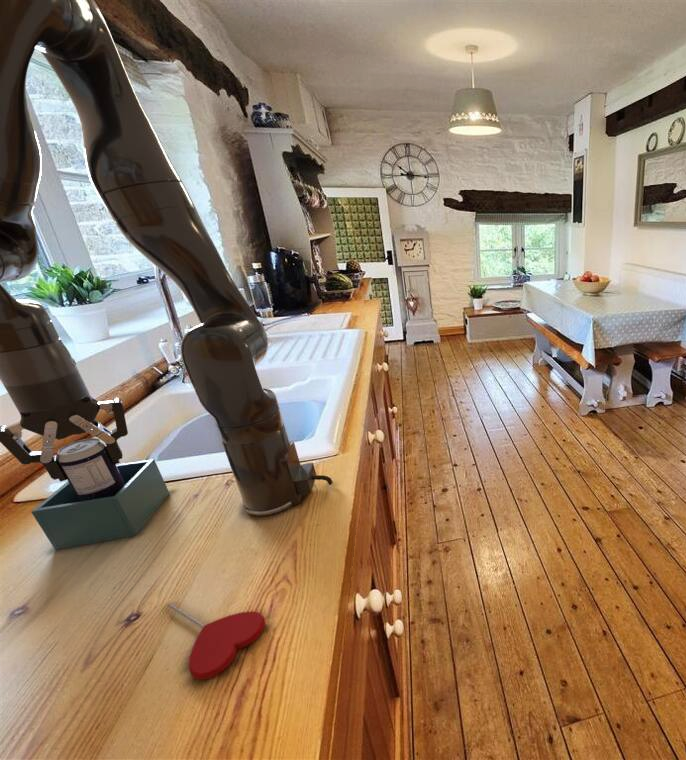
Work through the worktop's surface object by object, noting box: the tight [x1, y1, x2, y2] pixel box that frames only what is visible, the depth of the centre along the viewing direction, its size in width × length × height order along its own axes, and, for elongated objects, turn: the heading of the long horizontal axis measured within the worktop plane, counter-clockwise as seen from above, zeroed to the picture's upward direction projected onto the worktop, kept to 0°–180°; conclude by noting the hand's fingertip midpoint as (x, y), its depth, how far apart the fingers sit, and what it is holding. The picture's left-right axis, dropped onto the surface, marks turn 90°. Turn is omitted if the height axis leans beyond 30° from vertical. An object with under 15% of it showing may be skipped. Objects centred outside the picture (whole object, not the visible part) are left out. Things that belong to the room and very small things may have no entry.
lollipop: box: [166, 602, 266, 680], centre depth 51 cm, size 8×1×15 cm
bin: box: [30, 458, 170, 551], centre depth 69 cm, size 11×11×8 cm
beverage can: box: [56, 437, 126, 502], centre depth 67 cm, size 6×6×12 cm
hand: (91, 469), depth 66 cm, fingers closed on beverage can, 5 cm apart
